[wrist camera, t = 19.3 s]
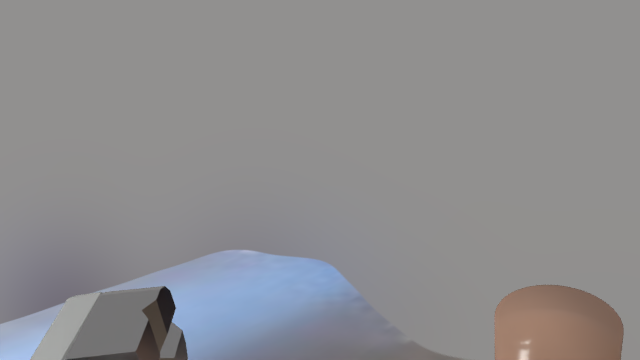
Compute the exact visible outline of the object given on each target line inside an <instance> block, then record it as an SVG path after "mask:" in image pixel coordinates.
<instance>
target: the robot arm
mask: <svg viewBox="0 0 640 360" xmlns="http://www.w3.org/2000/svg"><path fill="white" fill-rule="evenodd" d="M175 309H176V307H175V304H174V301H173V298H172V295H171V292H170V290H169V289H168V288H166V287H165V286H161V287H151V288H141V289H131V290H121V291H111V292H105V293H101V292H99V293H92V294H84V295H77V296H73V297H71V298H69V299H67V301H66V302H65V304H64V306H63V307H62V309H61V310H60V312H59V314H58V315H57V317H56V318H55V320H54V322H53V323H52V325H51V327H50V328H49V330H48V331H47V333H46V335H45V336H44V338H43V339H42V341H41V343H40V344H39V346H38V348H37V349H36V351H35V352H34V354H33V356H32V357H31V359H30V360H188V356H187V349H186V342H185V339H184V335H183V331H182V330H181V329H180V328H179V327H177V326H176V325H175V324H174V323H172V318H173V315H174V312H175Z"/></svg>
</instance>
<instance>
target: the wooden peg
mask: <svg viewBox="0 0 640 360" xmlns="http://www.w3.org/2000/svg"><path fill="white" fill-rule="evenodd" d="M622 342H623V324H622V321H621V319H620V317H619V316H618V314H617V313H616V312H615V311H614V309H613V308H612V307H610V306H609V305H608V304H607V303H606V302H604V301H602V300H601V299H599V298H598V297H596V296H594V295H591V294H590V293H587V292H584V291H582V290H578V289H575V288H571V287H565V286H558V285H537V286H530V287H526V288H522V289H519V290H516V291H514V292H512V293H510V294H509V295H508V296H506V297H505V298H503V299H502V300H501V302H500V303H499V304H498V306H497V308H496V311H495V360H621V351H622Z"/></svg>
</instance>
